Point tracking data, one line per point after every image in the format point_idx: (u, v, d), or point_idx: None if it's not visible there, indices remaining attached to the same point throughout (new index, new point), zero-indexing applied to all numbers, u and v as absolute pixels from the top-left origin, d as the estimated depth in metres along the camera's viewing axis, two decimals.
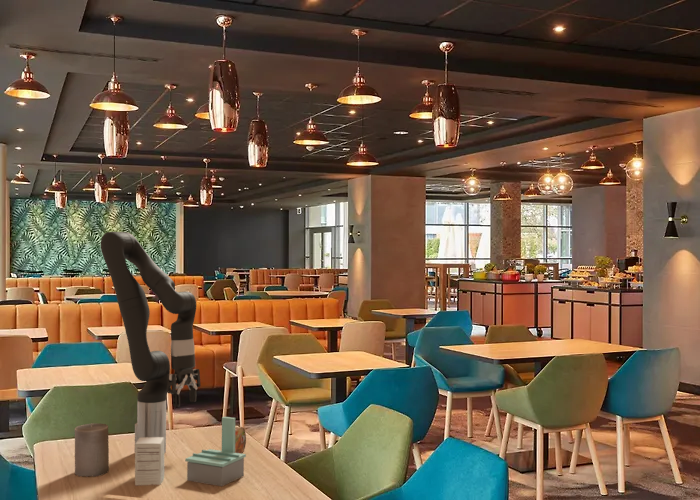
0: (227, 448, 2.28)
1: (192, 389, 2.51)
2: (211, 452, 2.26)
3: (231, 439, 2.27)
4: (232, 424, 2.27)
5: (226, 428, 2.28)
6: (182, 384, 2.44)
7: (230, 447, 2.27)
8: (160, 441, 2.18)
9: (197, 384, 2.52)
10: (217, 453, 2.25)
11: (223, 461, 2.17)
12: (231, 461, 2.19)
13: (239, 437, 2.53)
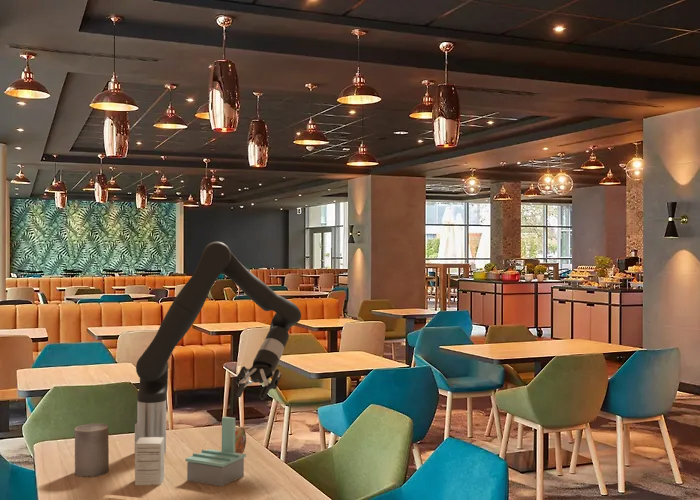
0: (227, 448, 2.28)
1: (243, 385, 2.43)
2: (211, 452, 2.26)
3: (231, 439, 2.27)
4: (232, 424, 2.27)
5: (226, 428, 2.28)
6: None
7: (230, 447, 2.27)
8: (160, 441, 2.18)
9: None
10: (217, 453, 2.25)
11: (223, 461, 2.17)
12: (231, 461, 2.19)
13: (239, 437, 2.53)
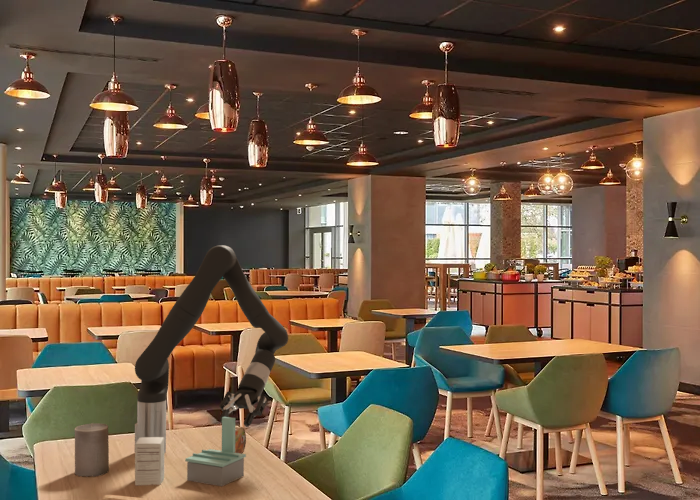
0: (227, 448, 2.28)
1: (228, 411, 2.35)
2: (211, 452, 2.26)
3: (231, 439, 2.27)
4: (232, 424, 2.27)
5: (226, 428, 2.28)
6: None
7: (230, 447, 2.27)
8: (160, 441, 2.18)
9: None
10: (217, 453, 2.25)
11: (223, 461, 2.17)
12: (231, 461, 2.19)
13: (239, 437, 2.53)
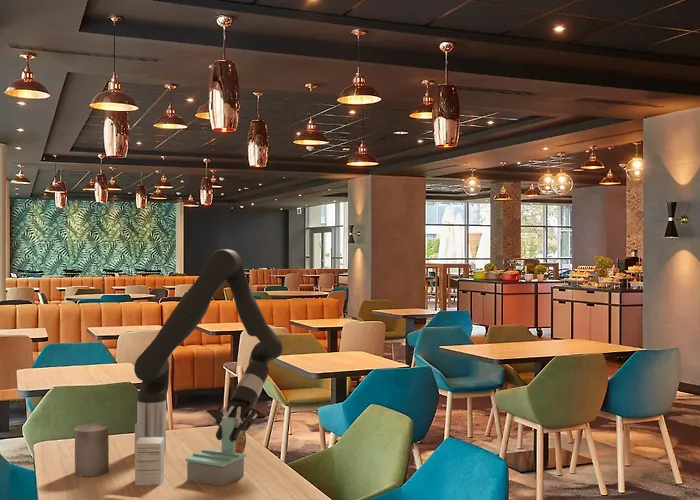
0: (227, 448, 2.28)
1: None
2: (211, 452, 2.26)
3: None
4: (232, 424, 2.27)
5: (226, 428, 2.28)
6: None
7: (230, 447, 2.27)
8: (160, 441, 2.18)
9: None
10: (217, 453, 2.25)
11: (223, 461, 2.17)
12: (231, 461, 2.19)
13: (239, 437, 2.53)
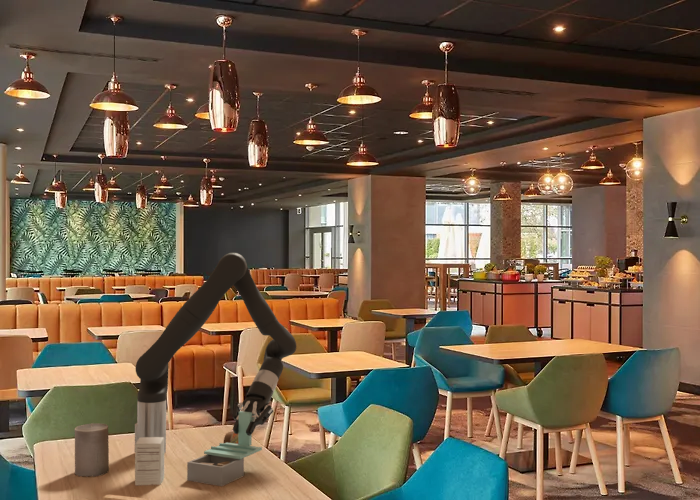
0: (244, 441, 2.36)
1: None
2: (228, 445, 2.34)
3: None
4: (249, 418, 2.35)
5: (243, 422, 2.36)
6: None
7: (247, 440, 2.35)
8: (160, 441, 2.18)
9: None
10: (234, 446, 2.33)
11: (241, 454, 2.25)
12: (248, 454, 2.27)
13: None
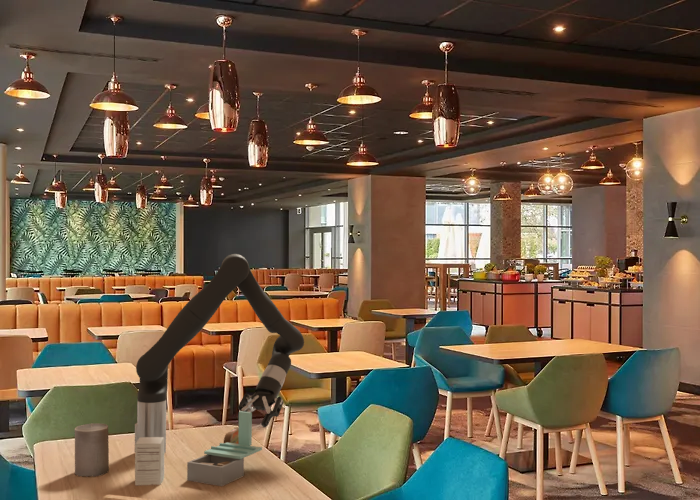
0: (244, 441, 2.36)
1: None
2: (228, 445, 2.34)
3: (248, 433, 2.35)
4: (249, 418, 2.35)
5: (243, 422, 2.36)
6: None
7: (247, 440, 2.35)
8: (160, 441, 2.18)
9: None
10: (234, 446, 2.33)
11: (241, 454, 2.25)
12: (248, 454, 2.27)
13: None
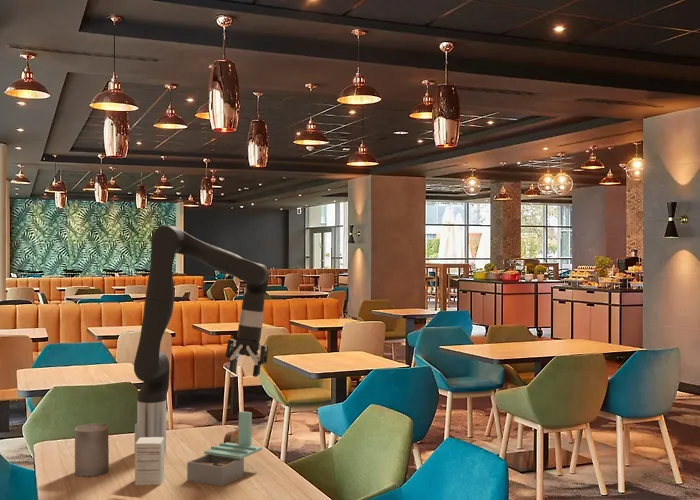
0: (244, 441, 2.36)
1: (235, 359, 2.50)
2: (228, 445, 2.34)
3: (248, 433, 2.35)
4: (249, 418, 2.35)
5: (243, 422, 2.36)
6: None
7: (247, 440, 2.35)
8: (160, 441, 2.18)
9: (232, 354, 2.51)
10: (234, 446, 2.33)
11: (241, 454, 2.25)
12: (248, 454, 2.27)
13: None
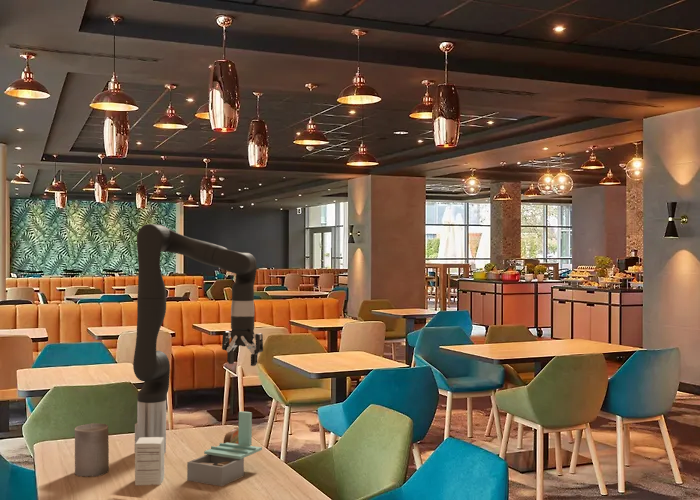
0: (244, 441, 2.36)
1: (232, 351, 2.49)
2: (228, 445, 2.34)
3: (248, 433, 2.35)
4: (249, 418, 2.35)
5: (243, 422, 2.36)
6: None
7: (247, 440, 2.35)
8: (160, 441, 2.18)
9: (228, 346, 2.51)
10: (234, 446, 2.33)
11: (241, 454, 2.25)
12: (248, 454, 2.27)
13: None
